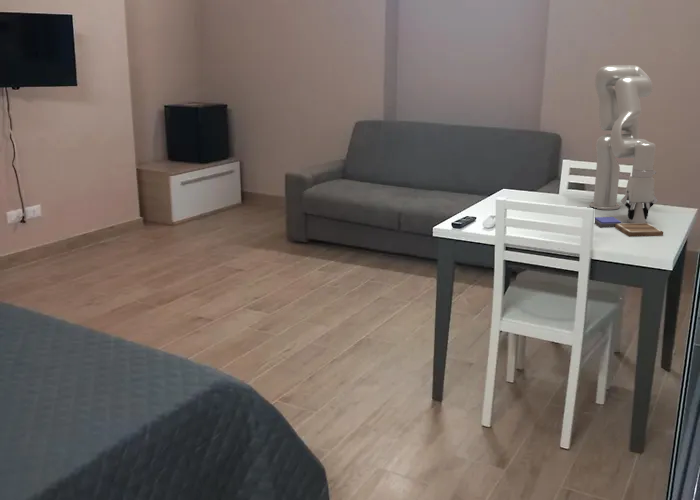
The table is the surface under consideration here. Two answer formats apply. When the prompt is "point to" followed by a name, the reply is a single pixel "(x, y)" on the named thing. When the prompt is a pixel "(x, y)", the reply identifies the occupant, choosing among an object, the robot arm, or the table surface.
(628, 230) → the marked board
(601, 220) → the ink pad
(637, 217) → the flask
